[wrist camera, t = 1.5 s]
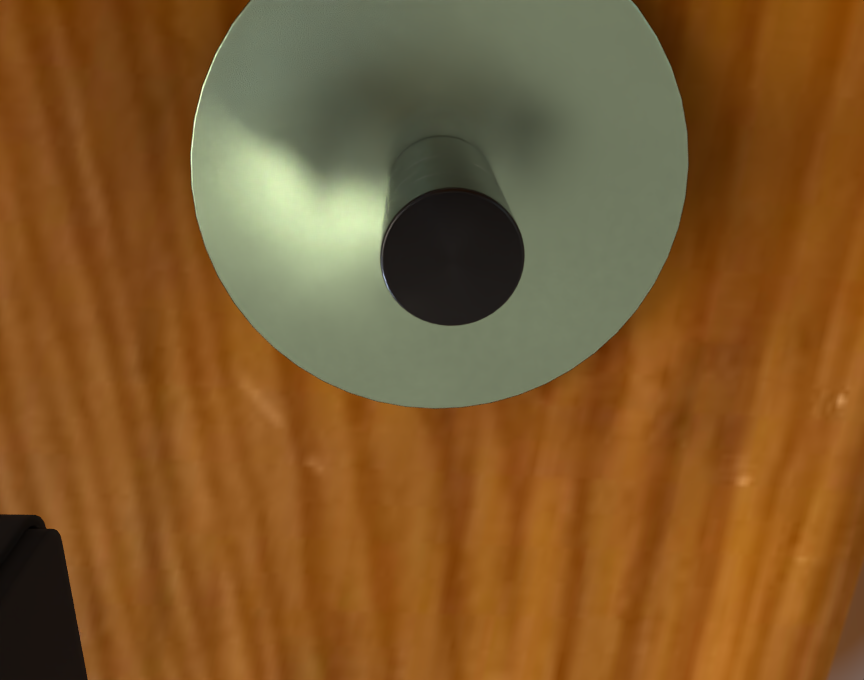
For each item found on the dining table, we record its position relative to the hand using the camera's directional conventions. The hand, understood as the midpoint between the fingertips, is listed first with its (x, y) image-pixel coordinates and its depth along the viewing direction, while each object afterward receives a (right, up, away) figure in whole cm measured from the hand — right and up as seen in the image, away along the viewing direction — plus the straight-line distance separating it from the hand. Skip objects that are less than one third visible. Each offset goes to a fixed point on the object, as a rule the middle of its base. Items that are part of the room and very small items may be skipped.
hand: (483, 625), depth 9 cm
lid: (0, +8, +14) cm, 15 cm away
